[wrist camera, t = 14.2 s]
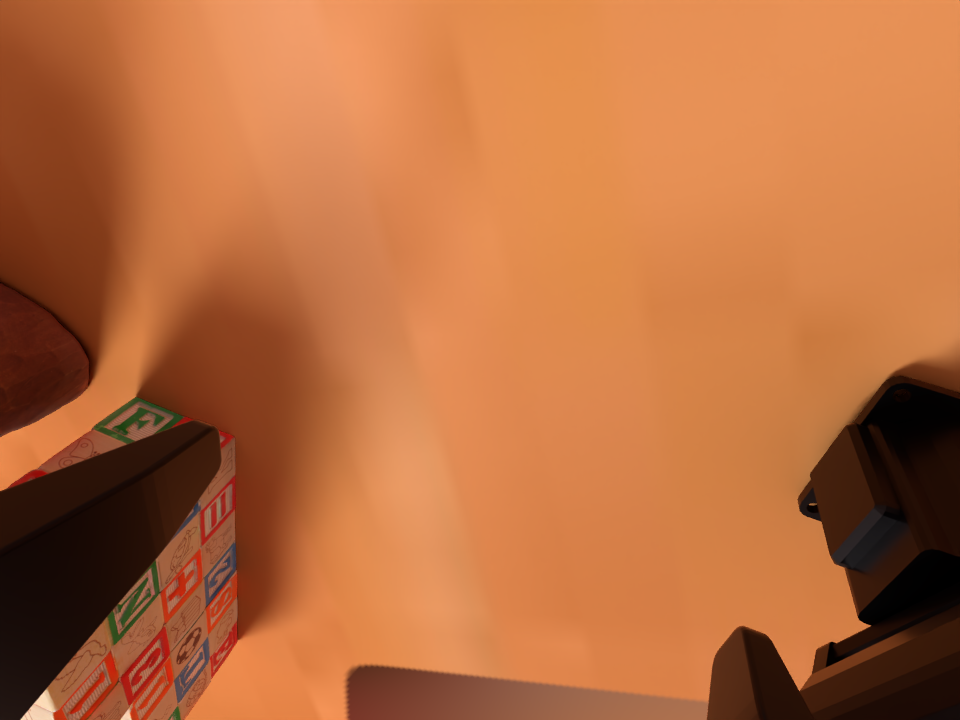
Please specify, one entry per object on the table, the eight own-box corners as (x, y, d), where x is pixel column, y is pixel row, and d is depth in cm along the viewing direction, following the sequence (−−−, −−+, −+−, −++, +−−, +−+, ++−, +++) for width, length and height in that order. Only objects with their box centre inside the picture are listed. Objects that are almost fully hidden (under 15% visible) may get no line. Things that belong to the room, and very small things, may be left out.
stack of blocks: (242, 641, 43) (107, 836, 33) (168, 607, 44) (14, 788, 34) (236, 433, 31) (21, 643, 21) (134, 391, 32) (-122, 575, 22)
